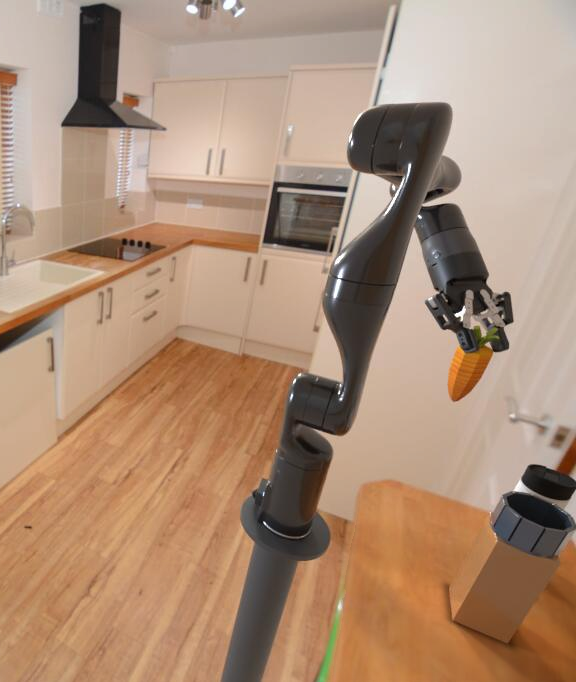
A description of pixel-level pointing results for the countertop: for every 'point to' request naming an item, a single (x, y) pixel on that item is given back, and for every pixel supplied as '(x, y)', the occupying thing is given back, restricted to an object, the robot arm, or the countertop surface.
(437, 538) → the countertop surface
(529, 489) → the travel mug
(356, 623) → the countertop surface
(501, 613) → the pad socket
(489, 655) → the countertop surface
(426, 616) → the countertop surface
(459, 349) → the carrot
